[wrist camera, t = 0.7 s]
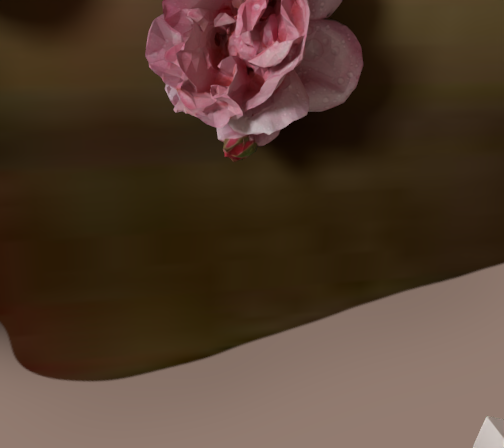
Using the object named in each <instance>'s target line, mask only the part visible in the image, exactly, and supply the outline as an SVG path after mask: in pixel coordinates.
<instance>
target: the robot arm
mask: <svg viewBox="0 0 504 448" xmlns="http://www.w3.org/2000/svg"><path fill="white" fill-rule="evenodd" d="M473 448H504V419H500V418H494V417H488V416H487V417H486V419H485V421H484V423H483V426H482V428H481V430H480V432H479V435H478V437H477V439H476V441H475V443H474V445H473Z"/></svg>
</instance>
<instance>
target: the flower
mask: <svg viewBox="0 0 504 448" xmlns="http://www.w3.org/2000/svg"><path fill="white" fill-rule="evenodd" d="M341 2H342V0H163V2H162V5H163V13H164V14H162V15H160V16H159V17H157V18H156V19H155V20H154V21H153V22H152V25H151V27H150V30H149V32H148V38H147V46H146V54H145V56H146V58H147V60H148V62H149V68H151V69H152V70H153V72H154V73H156V74H157V75H159V76H160V77H161V78H162V80H163V82H164V83H166V86H165V90H166V92H167V94H168V96H169V98H170V100H171V102H172V104H173V105H174V106H175V108H174V111H175V113H178V112H181V111H183V112H185V114H187V113H189V114H191V115H193V116H195V117H198V118H199V119H201V120H202V121H203V122H204V123H206V124H208V125H210V126H213V127H217V135H218V139H219V140H220V141H222V142H224V148H223V151H224V152H225V157H230V158H231V159H232V160H233V162H237V161H240V160H243V159H245V158H246V157H248V156H250V155H251V154H253V153H254V152H256V150H257V147H259V146H264V145H266V144H267V143H269V142H271V141H272V140H273V139H275V138H276V137H277V136H278V135H279V132H280V129H282V128H284V127H286V126H288V125H289V124H290V123H291V122H293V121H295V120H298V119H300V118H302V117H304V116H306V115H307V113H308V112H322V111H325V110H328V109H330V108H333V107H335V106H338V105H340V104H342V103H344V102H345V101H346V99H347V98H348V97H349V96H350V94H351V93H352V92H353V91H354V89H355V88H356V87H357V84H358V80H359V77H360V74H361V71H362V68H363V57H362V48H361V45H360V43H359V42H358V40H357V38H356V36H355V35H354V33H353V32H352V31H351V30H350V29H349V28H348V27H347V26H346V25H344V24H342V23H340V22H339V21H337V20H332V19H327V18H328V17H330V16H331V15H332V14H333V13H334V11H335V10H336V9H337V8H338V6H339V5H340V3H341Z"/></svg>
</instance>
